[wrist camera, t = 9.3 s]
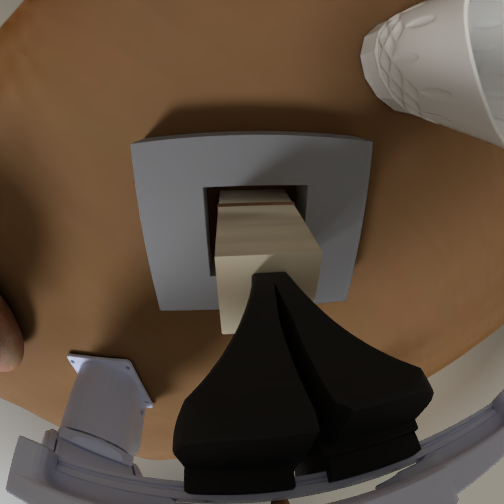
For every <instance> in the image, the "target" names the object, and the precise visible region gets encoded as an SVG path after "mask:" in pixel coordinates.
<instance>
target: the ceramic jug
mask: <svg viewBox="0 0 504 504" xmlns="http://www.w3.org/2000/svg"><path fill="white" fill-rule="evenodd" d="M23 355H24V341H23V337H22V333H21V331H20V328H19V326H18V323H17V321H16V319H15V317H14V315H13V313H12V312H11V310H10V308H9V307H8V305H7V303H6V302H5V300H4V299H3V297H2V296H1V294H0V372H8V371H12V370H14V369H15V368H17V367H18V366H19V365H20V363H21V362H22V359H23Z"/></svg>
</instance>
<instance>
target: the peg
mask: <svg viewBox="0 0 504 504" xmlns="http://www.w3.org/2000/svg"><path fill="white" fill-rule="evenodd" d="M322 253H323V252H322V250H321V248H320V247H319V245H318V243H317V242H316V240H315V238H314V237H313V235H312V233H311V232H310V230H309V228H308V227H307V225H306V223H305V222H304V220H303V219H302V217H301V215H300V214H299V212H298V211H297V209H296V207H295V203H294V202H292V201H291V199H290V198H289V196H288V195H287V193H286V192H285V190H284V189H264V190H230V191H220V196H219V204H218V219H217V231H216V245H215V267H216V279H217V290H218V300H219V310H220V320H221V329H222V334H235V332H236V330H237V328H238V326H239V323H240V321H241V319H242V316H243V314H244V311H245V308H246V305H247V302H248V299H249V295H250V291H251V276H252V275H253V274H254V273H268V272H286V273H287V274H288V275H289V276H290V277H291V278H292V279H293V281H294V282H295V283H296V284H297V285H298V286H299V287H300V289H301V290H302V291H303V292H304V293H305V294H306V295H307V296H308V297H309V298H310V299H311V300H312V301H313V302H314V303H315V299H316V293H317V287H318V280H319V274H320V267H321V260H322Z"/></svg>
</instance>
